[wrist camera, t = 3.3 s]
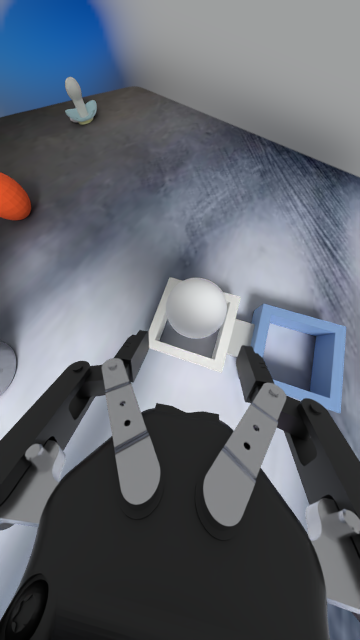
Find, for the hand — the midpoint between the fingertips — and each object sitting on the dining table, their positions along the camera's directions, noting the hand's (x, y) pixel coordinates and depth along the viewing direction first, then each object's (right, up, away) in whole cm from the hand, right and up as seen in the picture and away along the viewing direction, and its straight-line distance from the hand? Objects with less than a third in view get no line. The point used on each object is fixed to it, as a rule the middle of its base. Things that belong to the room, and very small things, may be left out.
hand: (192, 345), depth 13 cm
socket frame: (+7, -1, +9) cm, 12 cm away
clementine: (-32, +23, +17) cm, 43 cm away
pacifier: (-24, +51, +25) cm, 62 cm away
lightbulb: (+1, +1, +10) cm, 10 cm away
